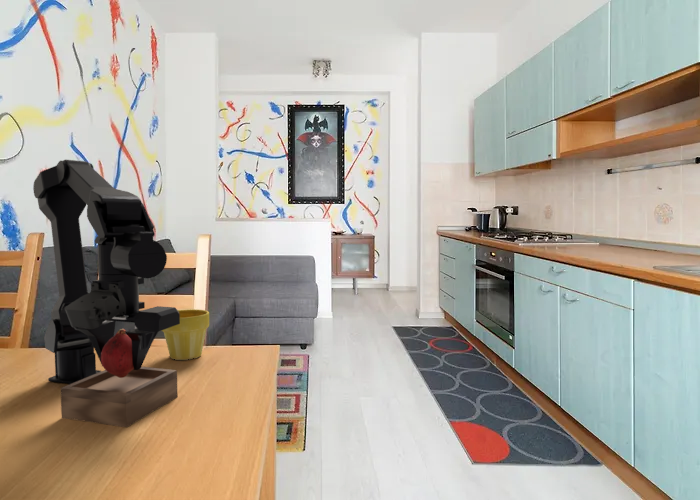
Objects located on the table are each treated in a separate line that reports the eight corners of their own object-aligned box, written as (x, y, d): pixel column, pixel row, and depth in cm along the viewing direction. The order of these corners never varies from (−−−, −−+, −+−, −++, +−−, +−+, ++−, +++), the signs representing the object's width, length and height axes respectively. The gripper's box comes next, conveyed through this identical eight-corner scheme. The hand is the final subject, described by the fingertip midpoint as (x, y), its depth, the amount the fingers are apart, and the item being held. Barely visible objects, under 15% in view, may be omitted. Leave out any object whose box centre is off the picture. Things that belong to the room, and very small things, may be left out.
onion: (124, 385, 71) (123, 334, 70) (93, 382, 72) (91, 332, 71) (148, 373, 76) (147, 326, 76) (118, 370, 78) (117, 324, 77)
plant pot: (172, 349, 108) (171, 308, 107) (216, 349, 107) (215, 308, 107) (152, 362, 97) (151, 317, 97) (200, 363, 97) (199, 318, 96)
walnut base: (61, 417, 70) (60, 388, 70) (119, 389, 82) (118, 364, 81) (126, 427, 67) (125, 396, 67) (177, 396, 79) (176, 370, 78)
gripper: (25, 276, 68) (30, 379, 69) (131, 282, 63) (134, 392, 64) (87, 268, 78) (90, 357, 79) (181, 272, 73) (182, 367, 75)
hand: (121, 367), depth 74 cm, fingers closed on onion, 6 cm apart
